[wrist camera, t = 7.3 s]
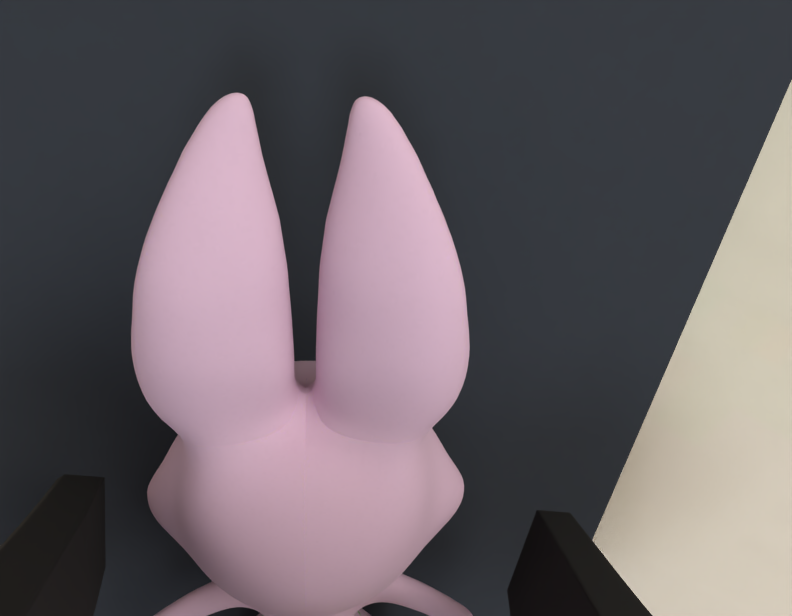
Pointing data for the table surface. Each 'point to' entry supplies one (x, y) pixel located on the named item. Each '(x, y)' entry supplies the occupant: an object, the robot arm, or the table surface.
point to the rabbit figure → (301, 375)
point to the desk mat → (307, 211)
